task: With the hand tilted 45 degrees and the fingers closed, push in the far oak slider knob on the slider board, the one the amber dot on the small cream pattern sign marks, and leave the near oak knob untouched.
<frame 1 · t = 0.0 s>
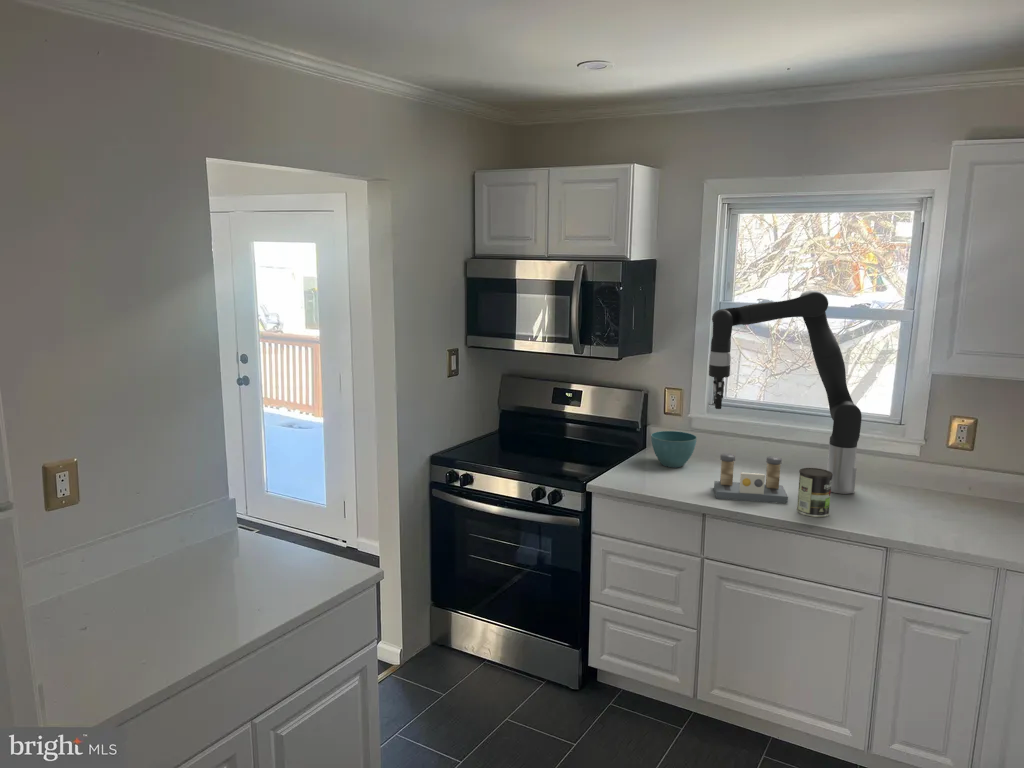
hand: (717, 406, 275), 29 cm above the worktop, tool pointing down, fingers open, 8 cm apart
teal round bowl: (672, 465, 303), on the worktop
near knob: (773, 472, 265), point 8 cm above the worktop, slide at 0.0 cm
slider board: (749, 495, 265), on the worktop
coffee can: (812, 512, 248), on the worktop
far knob: (727, 469, 269), point 8 cm above the worktop, slide at 0.0 cm
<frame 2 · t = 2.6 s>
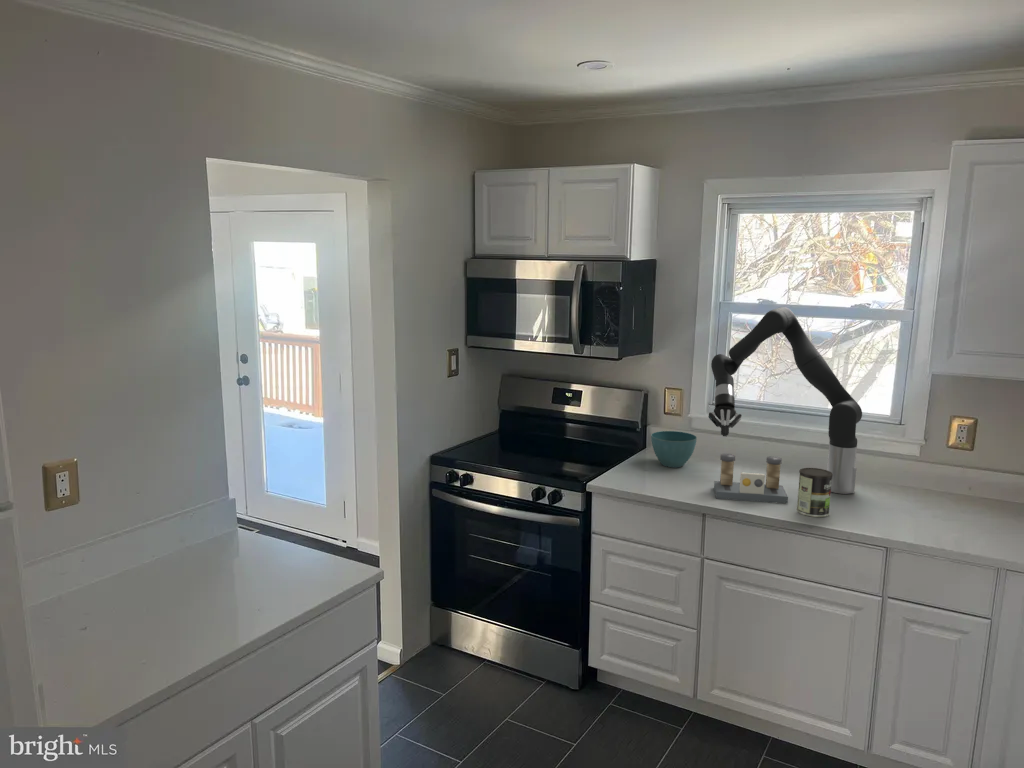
hand: (725, 435, 283), 17 cm above the worktop, tool tilted 45°, fingers closed
nothing on the worktop moved.
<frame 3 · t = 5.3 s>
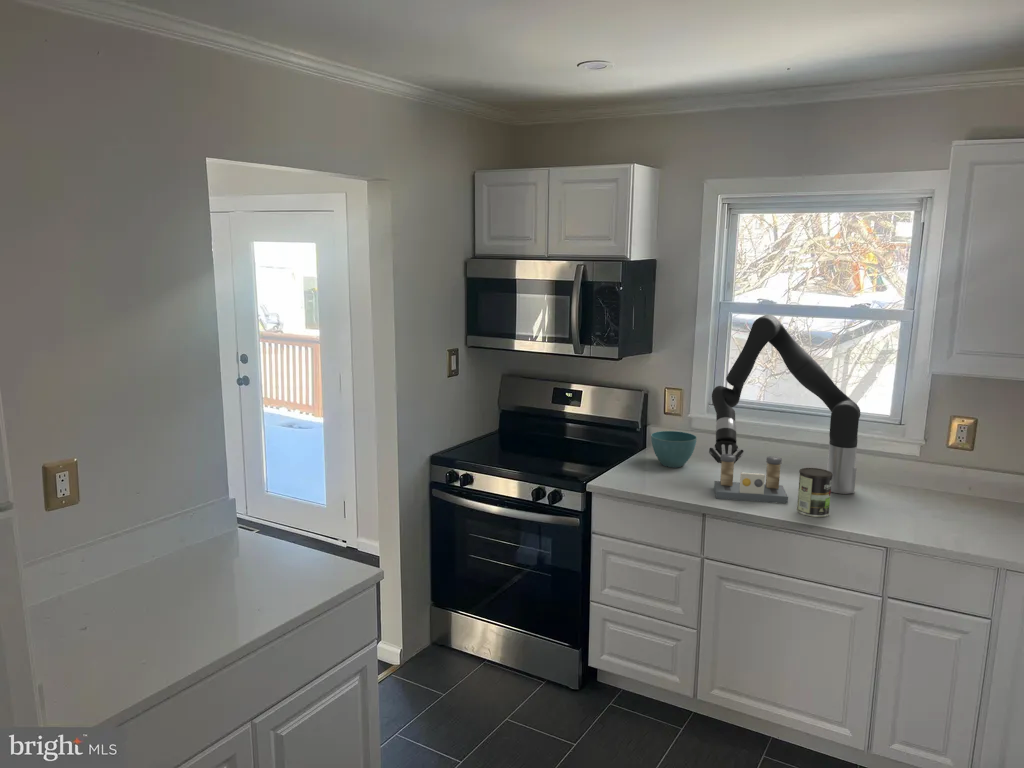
hand: (726, 472, 271), 6 cm above the worktop, tool tilted 45°, fingers closed
far knob: (727, 469, 268), point 8 cm above the worktop, slide at 0.5 cm, touching gripper
everything else where it was.
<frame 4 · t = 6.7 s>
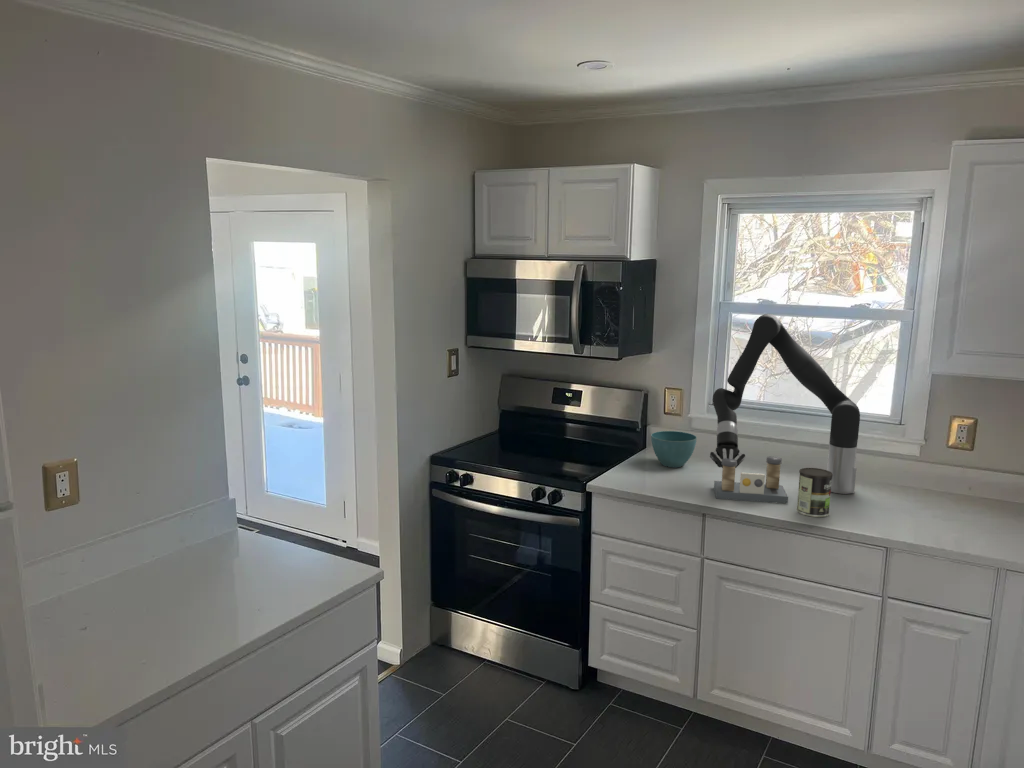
hand: (727, 477, 265), 6 cm above the worktop, tool tilted 45°, fingers closed
far knob: (728, 474, 262), point 8 cm above the worktop, slide at 6.6 cm, touching gripper
everything else where it was.
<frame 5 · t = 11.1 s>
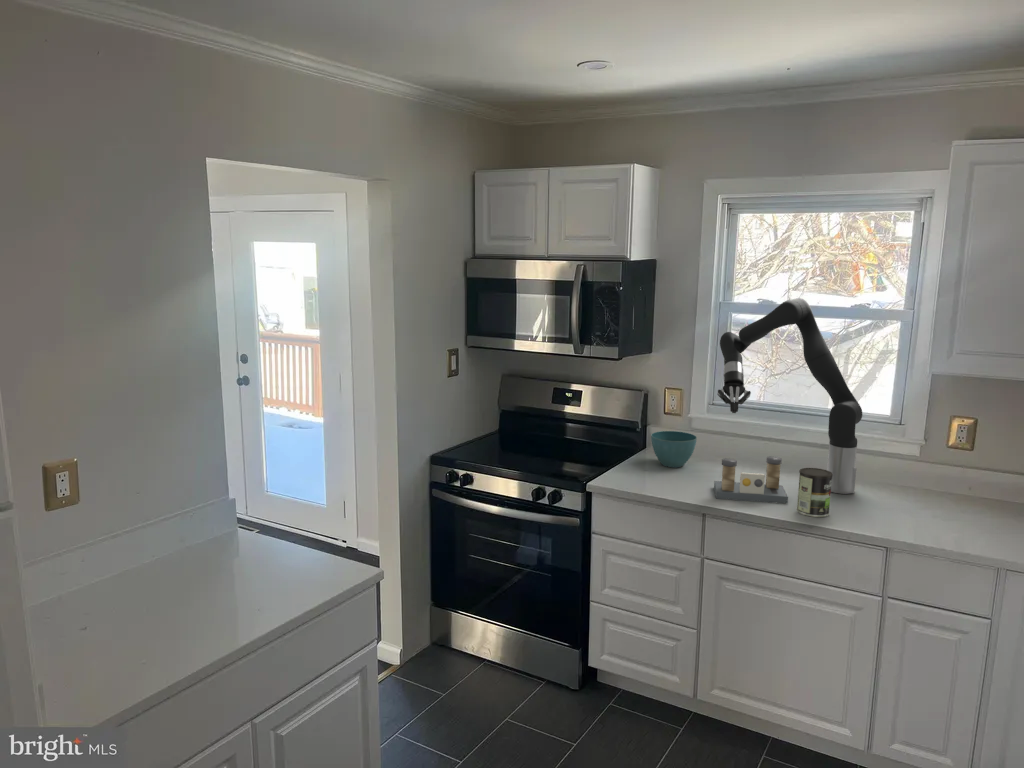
hand: (734, 412, 282), 26 cm above the worktop, tool tilted 45°, fingers closed
far knob: (728, 474, 262), point 8 cm above the worktop, slide at 6.6 cm
everything else where it was.
at the end: far knob slide at 6.6 cm; near knob slide at 0.0 cm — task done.
